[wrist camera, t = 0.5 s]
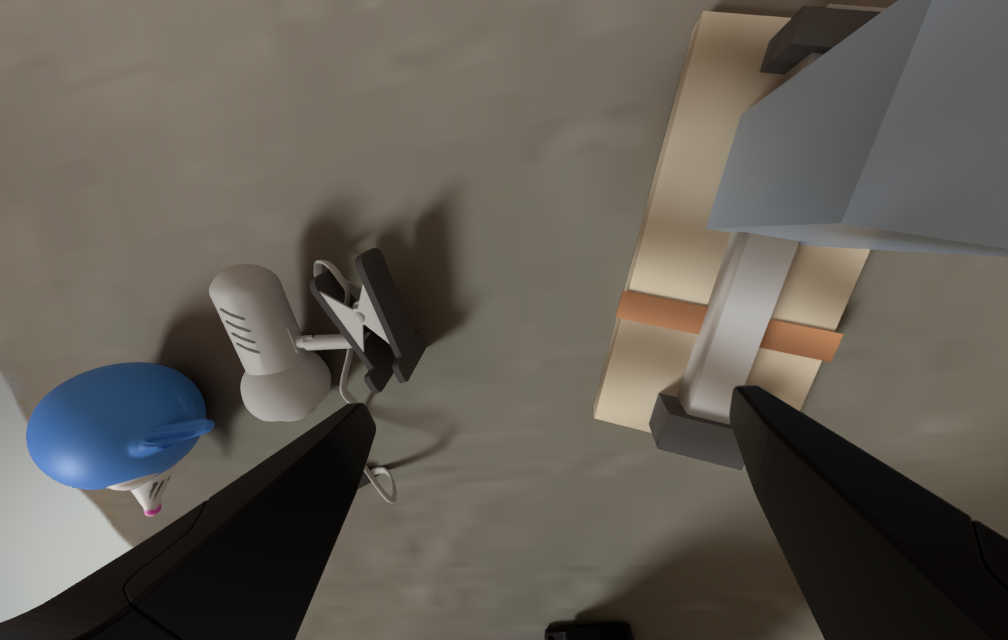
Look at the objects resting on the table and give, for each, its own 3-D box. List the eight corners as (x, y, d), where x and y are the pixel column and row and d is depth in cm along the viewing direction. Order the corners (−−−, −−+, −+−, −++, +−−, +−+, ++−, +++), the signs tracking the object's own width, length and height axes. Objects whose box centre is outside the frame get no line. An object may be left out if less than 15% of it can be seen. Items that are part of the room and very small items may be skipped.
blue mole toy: (155, 472, 32) (16, 550, 24) (118, 346, 30) (-52, 388, 22) (267, 485, 30) (154, 577, 22) (237, 349, 27) (96, 398, 19)
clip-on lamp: (454, 458, 29) (406, 238, 22) (434, 534, 24) (358, 271, 16) (319, 459, 31) (228, 253, 23) (269, 531, 25) (126, 289, 17)
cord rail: (768, 450, 21) (810, 497, 17) (588, 405, 23) (590, 440, 19) (938, 50, 16) (1054, -9, 12) (686, 28, 17) (717, -30, 13)
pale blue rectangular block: (812, 246, 17) (1083, 260, 8) (705, 228, 17) (841, 223, 8) (858, 128, 15) (1251, -19, 6) (741, 114, 16) (946, -37, 7)
